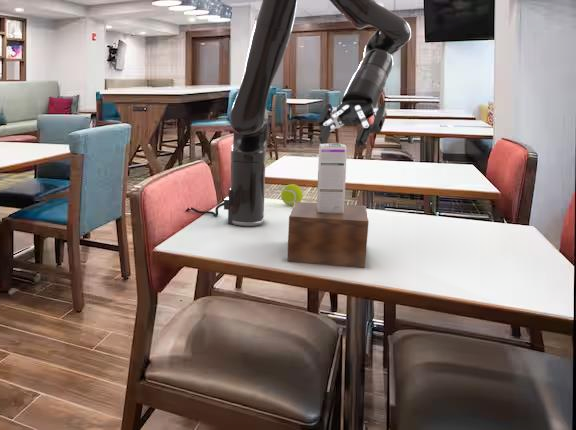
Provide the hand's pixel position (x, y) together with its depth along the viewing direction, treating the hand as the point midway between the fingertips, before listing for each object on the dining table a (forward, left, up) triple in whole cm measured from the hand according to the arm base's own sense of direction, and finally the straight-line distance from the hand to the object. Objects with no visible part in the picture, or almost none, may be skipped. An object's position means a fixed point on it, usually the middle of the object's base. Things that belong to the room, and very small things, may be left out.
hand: (339, 143), depth 118 cm
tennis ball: (-13, +45, -25) cm, 53 cm away
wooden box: (-1, -3, -24) cm, 25 cm away
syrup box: (-1, -3, -15) cm, 15 cm away
